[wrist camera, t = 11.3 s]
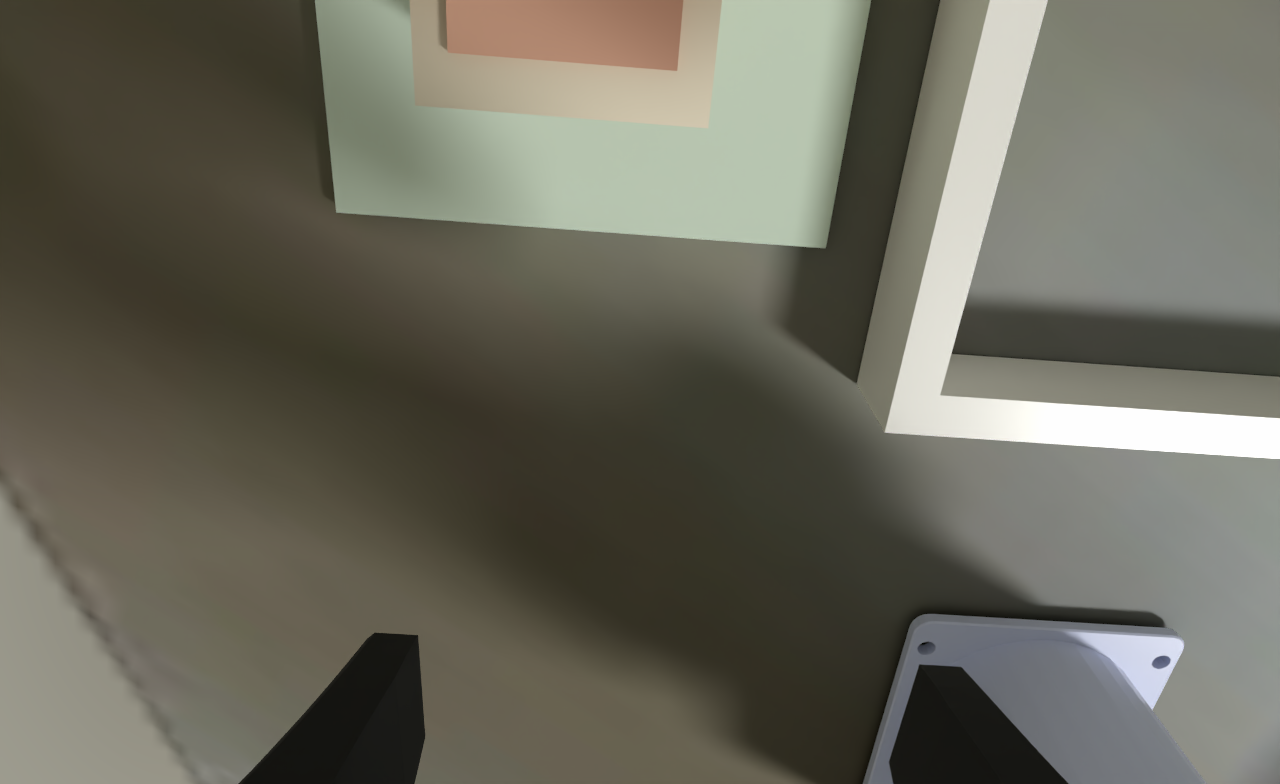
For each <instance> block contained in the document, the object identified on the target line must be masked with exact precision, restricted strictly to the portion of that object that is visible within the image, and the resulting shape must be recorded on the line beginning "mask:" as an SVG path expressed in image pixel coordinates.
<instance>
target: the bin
mask: <svg viewBox="0 0 1280 784" xmlns="http://www.w3.org/2000/svg"><path fill="white" fill-rule="evenodd" d="M1047 1H1048V0H940V4H939V8H938V13H937V18H936V22H935V27H934V31H933V36H932V41H931V45H930V50H929V54H928V59H927V64H926V68H925V73H924V77H923V82H922V86H921V91H920V96H919V100H918V105H917V109H916V114H915V119H914V123H913V128H912V132H911V137H910V142H909V146H908V151H907V155H906V160H905V164H904V169H903V174H902V178H901V183H900V187H899V192H898V197H897V201H896V206H895V210H894V215H893V220H892V224H891V229H890V233H889V238H888V242H887V247H886V252H885V256H884V261H883V265H882V270H881V275H880V279H879V284H878V288H877V293H876V298H875V302H874V307H873V311H872V316H871V320H870V325H869V330H868V334H867V339H866V343H865V348H864V353H863V357H862V362H861V366H860V371H859V375H858V380H857V386H858V388H859V390H860V391H861V393H862V395H863V396H864V398H865V400H866V401H867V403H868V405H869V407H870V408H871V410H872V412H873V413H874V415H875V417H876V419H877V420H878V422H879V424H880V425H881V427H882V429H883V430H884V432H885V433H898V434H913V435H928V436H943V437H958V438H973V439H988V440H1003V441H1018V442H1033V443H1048V444H1063V445H1078V446H1093V447H1108V448H1123V449H1138V450H1154V451H1169V452H1184V453H1199V454H1214V455H1229V456H1244V457H1259V458H1274V459H1280V377H1276V376H1261V375H1247V374H1232V373H1218V372H1204V371H1189V370H1175V369H1161V368H1146V367H1132V366H1118V365H1103V364H1089V363H1075V362H1060V361H1046V360H1031V359H1017V358H1003V357H988V356H974V355H960V354H951V353H952V350H953V346H954V342H955V339H956V335H957V331H958V328H959V324H960V320H961V317H962V313H963V309H964V306H965V302H966V298H967V295H968V291H969V287H970V284H971V280H972V276H973V273H974V269H975V265H976V262H977V258H978V254H979V251H980V247H981V243H982V240H983V236H984V232H985V229H986V225H987V221H988V218H989V214H990V210H991V207H992V203H993V199H994V196H995V192H996V188H997V185H998V181H999V177H1000V174H1001V170H1002V166H1003V163H1004V159H1005V155H1006V152H1007V148H1008V144H1009V141H1010V137H1011V133H1012V130H1013V126H1014V122H1015V119H1016V115H1017V111H1018V108H1019V104H1020V100H1021V97H1022V93H1023V89H1024V86H1025V82H1026V78H1027V75H1028V71H1029V67H1030V64H1031V60H1032V56H1033V53H1034V49H1035V45H1036V42H1037V38H1038V34H1039V31H1040V27H1041V23H1042V20H1043V16H1044V12H1045V9H1046V5H1047Z"/></svg>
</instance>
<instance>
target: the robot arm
mask: <svg viewBox="0 0 1280 784" xmlns="http://www.w3.org/2000/svg"><path fill="white" fill-rule="evenodd" d="M923 642H929V643H927V644H925V645H920V644H922V643H923ZM1183 648H1184V641H1183V639H1182V638H1181V637H1180V636H1179V635H1178V634H1177V632H1175V631H1174V630H1173V629H1169V628H1160V627H1144V626H1127V625H1110V624H1094V623H1077V622H1060V621H1044V620H1027V619H1010V618H993V617H977V616H960V615H943V614H923V615H921V616H918V617H917V618H916V619H914V620H913V621H912V623H911V625H910V627H909V630H908V633H907V637H906V640H905V643H904V647H903V650H902V654H901V657H900V660H899V664H898V667H897V670H896V674H895V677H894V681H893V684H892V687H891V691H890V694H889V697H888V701H887V704H886V707H885V711H884V714H883V718H882V721H881V724H880V728H879V731H878V734H877V738H876V741H875V744H874V748H873V751H872V755H871V758H870V761H869V765H868V768H867V771H866V775H865V778H864V781H863V784H1206V782H1205V781H1204V779H1203V778H1202V777H1201V775H1200V774H1199V773H1198V771H1197V770H1196V769H1195V767H1194V766H1193V765H1192V763H1191V762H1190V761H1189V759H1188V758H1187V756H1186V755H1185V754H1184V752H1183V751H1182V750H1181V748H1180V747H1179V746H1178V744H1177V743H1176V742H1175V740H1174V739H1173V738H1172V736H1171V735H1170V733H1169V732H1168V731H1167V729H1166V728H1165V727H1164V725H1163V724H1162V723H1161V721H1160V720H1159V719H1158V717H1157V716H1156V714H1155V713H1154V712H1153V710H1152V709H1153V708H1154V706H1155V704H1156V702H1157V700H1158V698H1159V696H1160V694H1161V692H1162V690H1163V688H1164V686H1165V684H1166V682H1167V680H1168V678H1169V676H1170V674H1171V672H1172V670H1173V668H1174V666H1175V664H1176V662H1177V661H1178V659H1179V657H1180V655H1181V653H1182V651H1183ZM424 740H425V728H424V714H423V700H422V686H421V672H420V658H419V644H418V635H404V634H387V633H374V634H373V635H371V636H370V637H369V638H367V640H366V641H365V642H364V643H363V645H362V646H361V647H360V648H359V649H358V651H357V652H356V653H355V654H354V656H353V657H352V658H351V659H350V660H349V662H348V663H347V664H346V665H345V667H344V668H343V669H342V670H341V671H340V673H339V674H338V675H337V676H336V677H335V678H334V680H333V681H332V682H331V683H330V684H329V686H328V687H327V688H326V689H325V690H324V691H323V693H322V694H321V695H320V696H319V697H318V698H317V699H316V701H315V702H314V703H313V704H312V705H311V706H310V707H309V709H308V710H307V711H306V712H305V713H304V714H303V715H302V716H301V718H300V719H299V720H298V721H297V722H296V723H295V724H294V725H293V726H292V727H291V729H290V730H289V731H288V732H287V733H286V734H285V735H284V736H283V737H282V738H281V739H280V741H279V742H278V743H277V744H276V745H275V746H274V747H273V748H272V749H271V750H270V751H269V753H268V754H267V755H266V756H265V757H264V758H263V759H262V760H261V761H260V762H259V763H258V764H257V765H256V766H255V767H254V768H253V770H252V771H251V772H250V773H249V774H248V775H247V776H246V777H245V778H244V779H243V780H242V781H241V782H240V783H239V784H414V783H415V779H416V775H417V770H418V766H419V762H420V757H421V753H422V748H423V744H424Z"/></svg>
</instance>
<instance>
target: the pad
mask: <svg viewBox="0 0 1280 784" xmlns="http://www.w3.org/2000/svg"><path fill="white" fill-rule="evenodd" d="M870 4H871V0H722V5H721V14H720V24H719V33H718V42H717V52H716V61H715V70H714V80H713V89H712V98H711V108H710V117H709V126H708V128H697V127H684V126H671V125H658V124H645V123H632V122H620V121H607V120H594V119H581V118H568V117H555V116H542V115H530V114H517V113H504V112H491V111H478V110H465V109H452V108H440V107H427V106H415V95H414V76H413V57H412V37H411V18H410V0H315V6H316V16H317V26H318V36H319V46H320V56H321V66H322V76H323V86H324V96H325V106H326V116H327V126H328V136H329V146H330V155H331V165H332V175H333V185H334V195H335V205H336V213H350V214H363V215H377V216H391V217H404V218H418V219H432V220H445V221H459V222H473V223H486V224H500V225H514V226H527V227H541V228H555V229H568V230H582V231H595V232H609V233H623V234H636V235H650V236H664V237H677V238H691V239H705V240H718V241H732V242H746V243H759V244H773V245H787V246H800V247H814V248H826V245H827V239H828V234H829V228H830V223H831V217H832V212H833V206H834V201H835V195H836V190H837V184H838V179H839V174H840V168H841V163H842V157H843V152H844V146H845V141H846V135H847V130H848V124H849V119H850V113H851V108H852V102H853V97H854V91H855V86H856V80H857V75H858V70H859V64H860V59H861V53H862V48H863V42H864V37H865V31H866V26H867V20H868V15H869V9H870Z"/></svg>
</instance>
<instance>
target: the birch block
mask: <svg viewBox="0 0 1280 784" xmlns="http://www.w3.org/2000/svg"><path fill="white" fill-rule="evenodd" d="M721 5H722V0H410V18H411V37H412V57H413V76H414V95H415V106H427V107H440V108H452V109H465V110H478V111H491V112H504V113H517V114H530V115H542V116H555V117H568V118H581V119H594V120H607V121H620V122H632V123H645V124H658V125H671V126H684V127H697V128H708V126H709V117H710V108H711V98H712V89H713V80H714V70H715V61H716V52H717V42H718V33H719V24H720V14H721Z"/></svg>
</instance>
